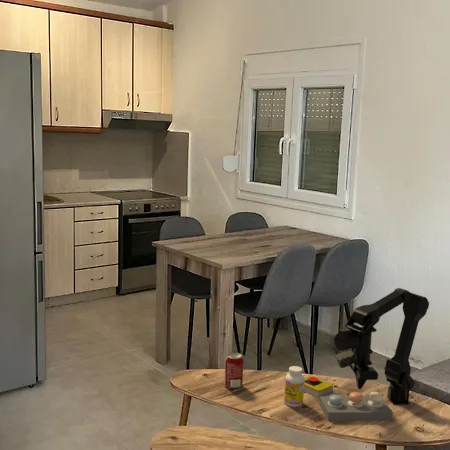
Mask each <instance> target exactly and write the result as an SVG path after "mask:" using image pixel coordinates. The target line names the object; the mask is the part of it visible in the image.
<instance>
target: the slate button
mask: <svg viewBox="0 0 450 450" xmlns="http://www.w3.org/2000/svg"><path fill="white" fill-rule="evenodd" d="M342 399H343V398H342V397H341V395H339V394H336V395H330V396H329V403H330V404H332V405H341V404H342Z"/></svg>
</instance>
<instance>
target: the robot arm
mask: <svg viewBox="0 0 450 450" xmlns="http://www.w3.org/2000/svg"><path fill="white" fill-rule="evenodd" d="M400 305H402V311H403V315H404V319H403V321H402V325H401V329H400V332H399V337H398V342H397V345H396V349H395V352H394V355H393V356H392V357H391V358H388V359H386V362H385V363H386V364H385V366H384V368H383V369H384V375H385V379H386V382H389V386H388V389H387V395H386V397H387V399H388V400H389V401H390V402H391V403H392V405H411V401H409V400H410V391H411V390H412V389H413V388H414V386H415V384H416V381H415V380H414V379H413V377H412V376H411V371H412V368H411V364H410V361H409V360H410V356H411V352H412V348H413V345H414V340H415V338H416V337H415V336H416V334H417V329H418V326H419V322H420V321H421V320H422V319H423V318H424V317H425V316H426V315H427V312H428V310H429V307H430V301H429V299H428V298H427V297H426V296H422V295H420V294H416V293H413V292H410V291H409V290H407V289H404V288H400V287H398V288H394V290H393V291H392V292H390V293H388V294H387V295H385V296H383V297H382V298H380V299H379V300H377V301H375V302H373V303H371V304H363V305H360V306H358V307H356V308H354V310H353V312H352V314H351V315H350V316H349V318H348V320H347V322H346V324H345V325H344V326H345V329H343V328H341V329H339V330H338V333H336V334H335V336H334V338H333V342H334V346H335V348H336V349H337V350H339V351H341V352H340V353H337V354H336V355H335V360H336V361H337V362H336V363H337V364H338V366H339V368H340V369H343V368H346V367H350V369H351V370H352V371H353V373H354V376H355V382H356V387H357V389H358V390H362V389H363V387H364V386H365V384H366V382H367V381H378V380H379V373H378V371H377V370H376V369H375V368H374V367H373V366H372V365H373V363H372V361H371V354H373V349H372V333H376V332H377V331H378V330H377V329H376V328H375V325H377V323H379V321H380V318H381V317H383V316H384V315H385V314H387V313H388V312H391V310H392V311H393V309H396V308H397V307H398V306H400ZM356 324H357V325H356Z"/></svg>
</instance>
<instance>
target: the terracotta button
mask: <svg viewBox="0 0 450 450" xmlns="http://www.w3.org/2000/svg"><path fill="white" fill-rule="evenodd" d="M348 396H349V400H350V401H352V402H356V403H360V402H362V399H363V396H364V395H363V394H362V393H360V392H358V391H352V392H350V393H349V395H348Z"/></svg>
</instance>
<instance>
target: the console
mask: <svg viewBox="0 0 450 450" xmlns="http://www.w3.org/2000/svg"><path fill="white" fill-rule="evenodd" d="M340 396H341V395H340ZM349 396H350V395H347V396H345V395H344V396H341V397H342V398H343V399H342V404H341V405H332V404H330V403H329V396H320V399H319V401H318V402H319V403H318V405H319V407H320V409H321V411H322V412H323V414H324V416H325V418H326V420H327V422H365V421H366V422H370V421H371V422H376V421H377V422H380V421H381V422H386V421H387V422H388V421H389V422H392V421H393V416H394V411H393V410H392V409H391V408H390V407H389V405H388V404H387V402H386V401H385V400H384V399H383V398H382V402H380V403H376V402H372V401H370V400H369V396H367V395H365V396H364V395H363V399H362V402H360V403H356V402H352V401H350V400H349Z"/></svg>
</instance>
